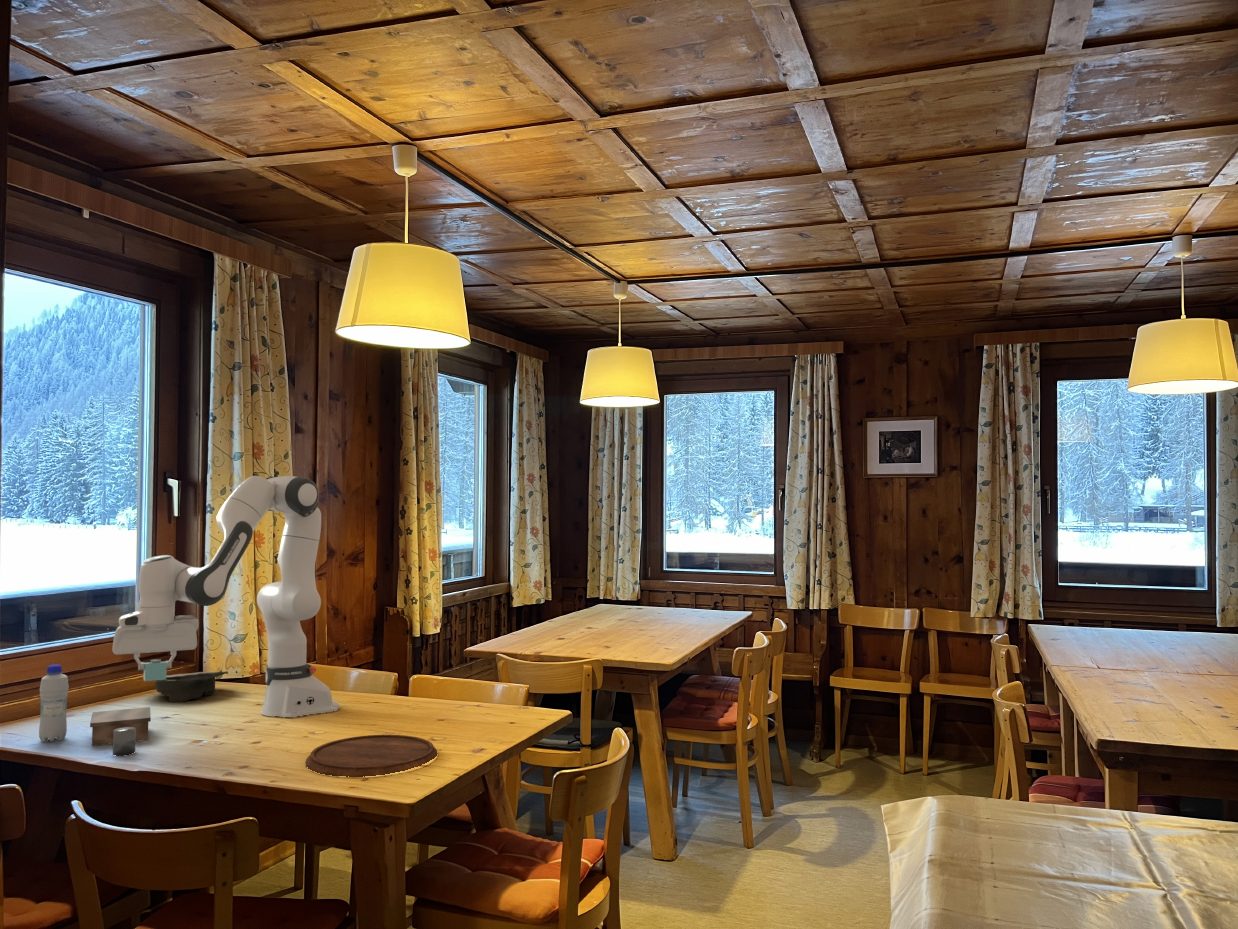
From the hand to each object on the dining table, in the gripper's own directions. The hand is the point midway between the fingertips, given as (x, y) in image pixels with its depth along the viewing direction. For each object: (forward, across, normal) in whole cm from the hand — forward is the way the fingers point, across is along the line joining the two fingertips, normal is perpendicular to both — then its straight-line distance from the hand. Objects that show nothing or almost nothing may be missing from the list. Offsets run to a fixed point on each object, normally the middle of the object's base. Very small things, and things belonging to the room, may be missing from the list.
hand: (154, 668), depth 242 cm
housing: (+3, 0, 0) cm, 3 cm away
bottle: (+19, +24, -14) cm, 33 cm away
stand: (+19, +8, -9) cm, 22 cm away
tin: (+19, +7, +9) cm, 22 cm away
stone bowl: (+20, -11, -58) cm, 62 cm away
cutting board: (+20, -48, +43) cm, 67 cm away
